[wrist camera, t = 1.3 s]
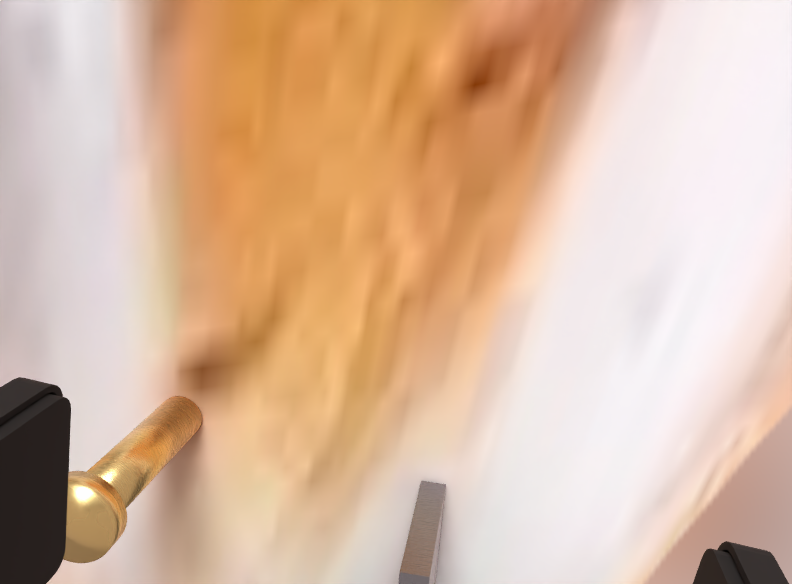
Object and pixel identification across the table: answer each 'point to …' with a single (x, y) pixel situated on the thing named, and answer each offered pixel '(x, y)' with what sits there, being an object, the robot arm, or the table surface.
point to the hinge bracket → (424, 536)
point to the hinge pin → (123, 478)
